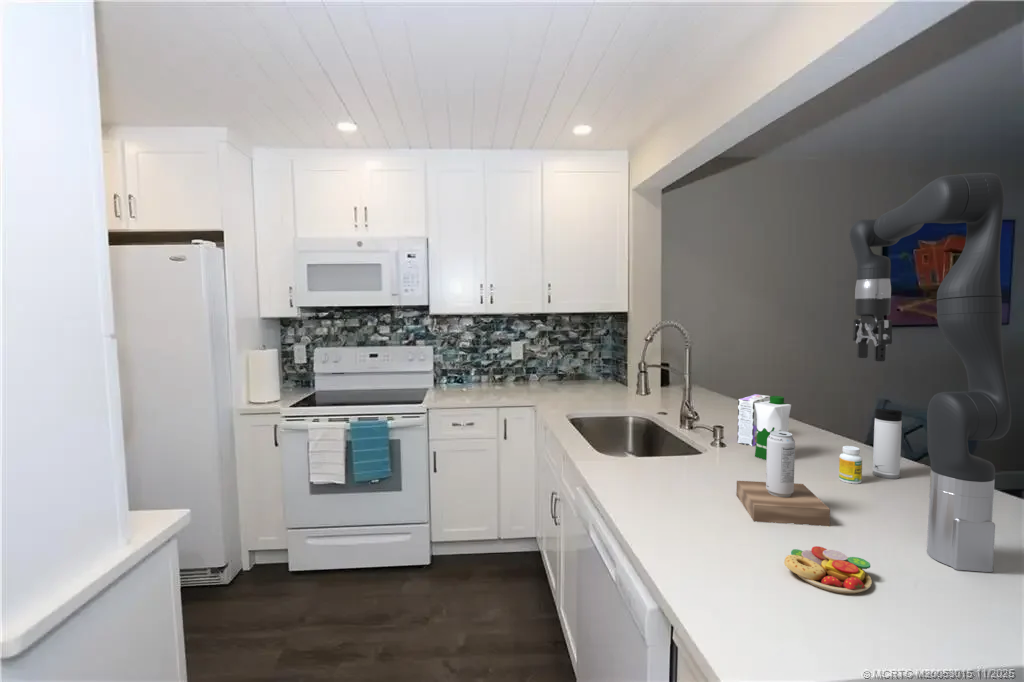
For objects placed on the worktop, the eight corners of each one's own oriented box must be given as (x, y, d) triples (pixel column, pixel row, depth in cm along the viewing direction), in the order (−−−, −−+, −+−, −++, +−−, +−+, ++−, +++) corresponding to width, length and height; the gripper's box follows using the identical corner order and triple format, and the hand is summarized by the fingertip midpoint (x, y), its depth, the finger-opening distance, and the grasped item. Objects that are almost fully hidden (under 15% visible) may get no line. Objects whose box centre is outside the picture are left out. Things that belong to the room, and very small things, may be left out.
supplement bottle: (844, 476, 144) (845, 443, 143) (865, 481, 140) (866, 448, 139) (835, 480, 141) (836, 447, 141) (856, 485, 137) (857, 451, 136)
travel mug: (874, 477, 143) (877, 409, 141) (870, 470, 148) (873, 404, 147) (901, 480, 140) (904, 411, 138) (896, 473, 146) (899, 406, 144)
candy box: (754, 436, 188) (754, 393, 187) (770, 439, 184) (771, 395, 182) (736, 443, 179) (737, 398, 178) (752, 446, 175) (753, 400, 174)
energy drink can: (777, 487, 126) (779, 429, 125) (799, 495, 120) (801, 434, 119) (760, 490, 124) (761, 431, 122) (781, 499, 118) (783, 437, 117)
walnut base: (829, 526, 113) (830, 509, 112) (753, 521, 116) (754, 504, 115) (802, 498, 128) (802, 483, 128) (736, 495, 131) (736, 480, 131)
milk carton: (793, 459, 160) (794, 398, 158) (773, 463, 156) (775, 401, 155) (768, 452, 168) (770, 394, 166) (749, 456, 164) (751, 396, 163)
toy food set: (777, 576, 93) (777, 560, 93) (799, 551, 102) (799, 536, 102) (863, 607, 83) (863, 588, 83) (878, 575, 93) (879, 559, 92)
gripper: (843, 298, 136) (842, 356, 137) (870, 296, 122) (868, 362, 123) (874, 297, 134) (872, 357, 135) (905, 296, 121) (903, 362, 121)
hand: (870, 359), depth 129 cm, fingers open, 8 cm apart
